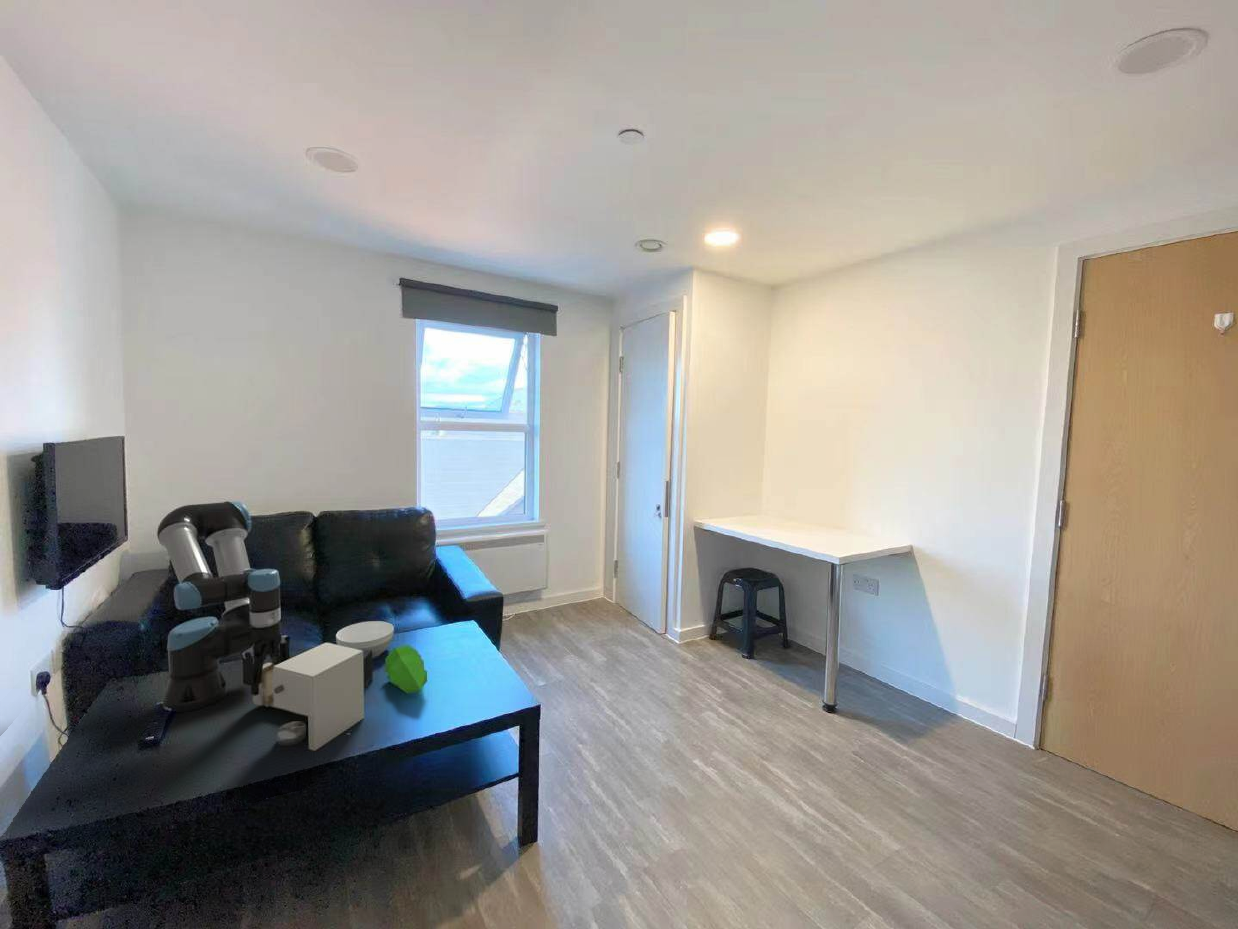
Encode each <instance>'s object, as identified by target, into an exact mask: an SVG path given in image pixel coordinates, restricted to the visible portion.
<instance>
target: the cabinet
mask: <svg viewBox="0 0 1238 929" xmlns="http://www.w3.org/2000/svg"><path fill="white" fill-rule="evenodd" d="M273 667H274V669H273V693H274V706H276V707H279V708H283V709H286V710H290V711H293V712H296V713H295V714H297V713H300V714H303V715H302V716H304V715H307V716H306V717H308V718H307V721H308V728H307V729H308V730H307V731H308V750H311V751H314V752H315V751H317V750H318V749H320V748H321V747H323V746H324V745H326V744H327V743H329V742H330V741H332V740H334V739H335V738H336V737H338V736H339V735H340V734H342V733H344V732H345V731H347V730H348V729H351V727H353V726H354V725H355V724H358V722H360V721H362V720H363V719H365V695H364V694H365V693H364V692H365V689H364V676H363V651H362V650H357V649H353V648H348V647H344V646H339V645H337V644H335V643H331V642H323V643H322V644H320V645H318V646H315V647H313V648H311V649H308V650H306V651H304V652H302V653H300V654H297V655H295V656H293V657H291V658H290V659H289V660H286V661H284V662H282V663H280V664H278V665H275V666H273ZM279 708H278V709H279ZM286 710H285V711H286ZM290 711H289V712H290ZM293 712H292V713H293ZM300 714H299V715H300Z"/></svg>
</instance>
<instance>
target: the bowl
mask: <svg viewBox="0 0 1238 929" xmlns="http://www.w3.org/2000/svg"><path fill="white" fill-rule="evenodd" d="M393 637H394V626H393V624H392V623H389V622H386V621H379V620H378V621H377V620H376V621H375V620H374V621H373V620H371V621H361V622H358V623H357V622H356V623H354V624H349V625H348V626H345V627H342V628H341V629H339V630H338V631H337V633H336V634H335V641H336V645H339V646H344V647H348V648H353V649H357V650H372V658H374V657H376V656H378V657H380V656H381V655H380V654H382V653H384V652H385V651H386V650H387V649H388V647H389V646H390V644H391V643H392V641H393ZM376 658H377V657H376ZM374 659H375V658H374Z"/></svg>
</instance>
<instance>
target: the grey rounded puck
mask: <svg viewBox="0 0 1238 929" xmlns="http://www.w3.org/2000/svg"><path fill="white" fill-rule="evenodd" d="M306 732H307V724H306V723H305V722H303V721H298V720H297V721H291V722H287V723H284V724H283V725H281V726H280V727H278V729H277V738H276V740H277V741H276V742H277V744H278V745H279V746H283V747H288V746H289V747H290V746H294V745H296V744H299V743H300V742H302V741H303V740H304V739H305V738H306V737H307V733H306Z"/></svg>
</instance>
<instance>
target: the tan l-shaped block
mask: <svg viewBox="0 0 1238 929" xmlns="http://www.w3.org/2000/svg"><path fill="white" fill-rule="evenodd" d="M275 665H277V664H273V663H272V662H268V661H267V662H266V663H263V668H262V673H261V678H260V683H262V684H263V705H262V707H263V706H264V707H272V708H276V709H279V710H283V711H286V712H290V713H293V714H296V715H301V716H304V717H308V716H307V715H303V714H300V713H296V712H293V711H290V710H286V709H283V708H279V707H276V706H274V693H273V669H274V667H273V666H275ZM252 703H253V704H254V695H252Z"/></svg>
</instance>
